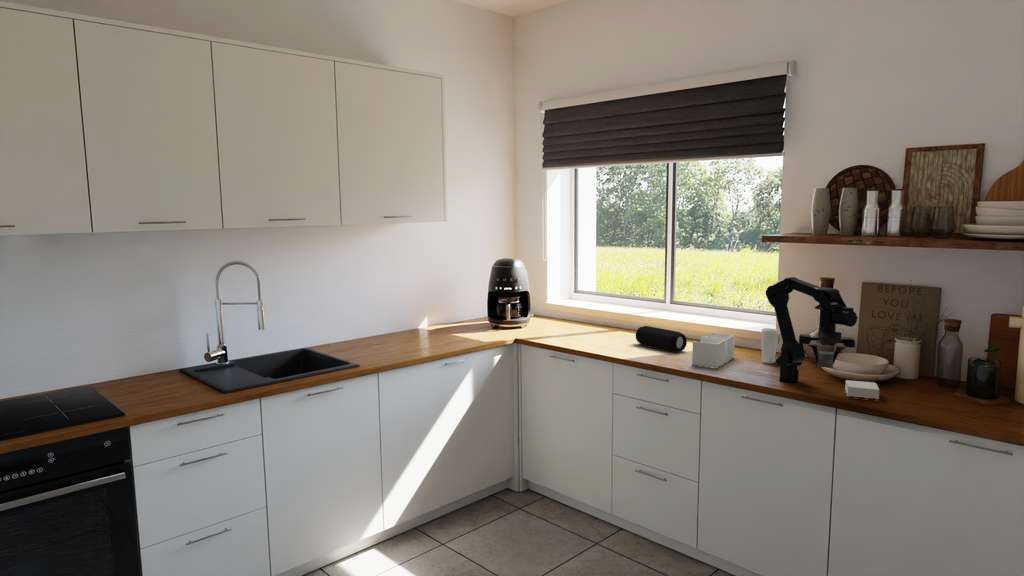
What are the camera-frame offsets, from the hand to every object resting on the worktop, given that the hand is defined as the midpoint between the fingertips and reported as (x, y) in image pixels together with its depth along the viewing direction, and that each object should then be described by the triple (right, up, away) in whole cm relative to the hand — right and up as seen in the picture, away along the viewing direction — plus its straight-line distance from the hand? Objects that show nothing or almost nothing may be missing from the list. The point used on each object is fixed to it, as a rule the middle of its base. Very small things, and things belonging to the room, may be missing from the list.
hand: (825, 363), depth 242 cm
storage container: (-26, -5, +50) cm, 57 cm away
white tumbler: (-3, -5, +48) cm, 48 cm away
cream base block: (+12, -12, -4) cm, 17 cm away
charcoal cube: (0, -1, 0) cm, 1 cm away
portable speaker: (-44, -2, +78) cm, 89 cm away
